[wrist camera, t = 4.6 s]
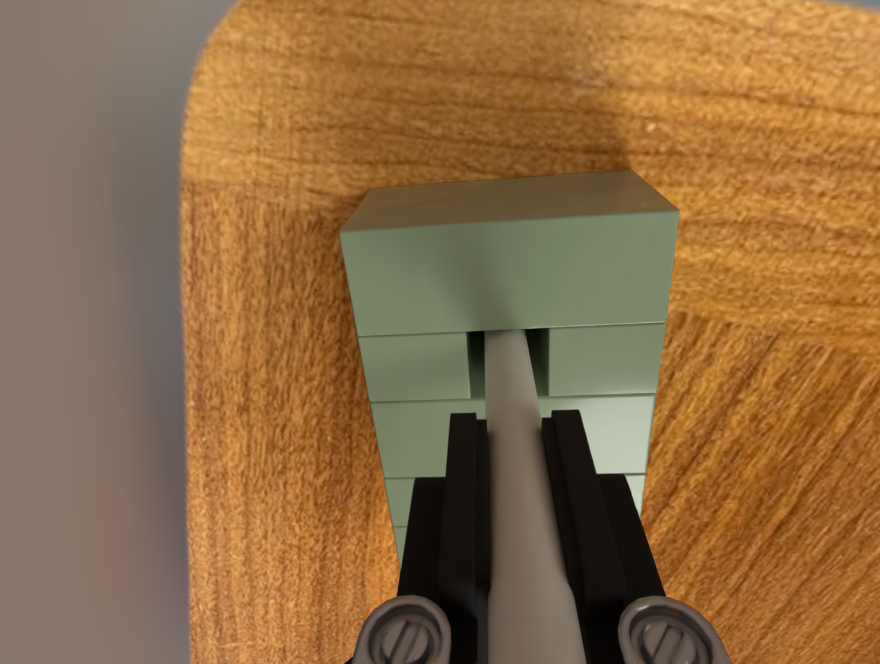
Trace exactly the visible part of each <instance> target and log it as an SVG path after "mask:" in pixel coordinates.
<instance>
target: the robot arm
mask: <svg viewBox="0 0 880 664" xmlns="http://www.w3.org/2000/svg"><path fill="white" fill-rule="evenodd" d="M541 430H542V436H543V442H544V447H545V453H546V459H547V464H548V470H549V476H550V481H551V487H552V492H553V498H554V504H555V509H556V515H557V521H558V526H559V532H560V538H561V543H562V549H563V555H564V560H565V566H566V571H567V577H568V583H569V586H570V588H571V590H572V592H573V595H574V599H575V604H576V609H577V615H578V620H579V626H580V631H581V636H582V642H583V647H584V653H585V658H586V664H732V662H731V660H730V658H729V656H728V654H727V652H726V650H725V648H724V645H723V643H722V641H721V639H720V637H719V636H718V634H717V633H716V631H715V629H714V628H713V626H712V625H711V623H710V622H709V621H708V620H707V619H706V618H704V617H703V616H702V615H701V614H700V613H699V612H698V611H697V610H695V609H693V608H692V607H690V606H689V605H687V604H685V603H684V602H681V601H678V600H675V599H672V598H669V597H666V595H665V592H664V589H663V586H662V583H661V580H660V577H659V574H658V571H657V568H656V565H655V562H654V559H653V556H652V553H651V550H650V547H649V544H648V541H647V538H646V535H645V532H644V529H643V526H642V523H641V520H640V517H639V514H638V511H637V508H636V505H635V502H634V499H633V496H632V493H631V490H630V487H629V484H628V482H627V479H626V477H625V476H624V474H597V473H596V469H595V466H594V462H593V458H592V454H591V451H590V447H589V443H588V440H587V436H586V432H585V428H584V425H583V421H582V417H581V414H580V411H579V410H578V409H573V410H552V411H551V417H542V422H541ZM489 591H490V551H489V492H488V433H487V419H477V415H476V412H475V413H451V414H450V424H449V436H448V449H447V462H446V475H445V477H416V478H415V480H414V485H413V491H412V498H411V504H410V511H409V518H408V525H407V531H406V538H405V545H404V552H403V558H402V565H401V572H400V579H399V585H398V592H397V597H395V598H392V599H390V600H387V601H385V602H384V603H382V604H381V605H379V606H378V607H377V608H375V609H374V610H373V611H372V613H371V614H370V615H369V616H368V617H367V619H366V620H365V622H364V624H363V626H362V629H361V631H360V633H359V636H358V640H357V644H356V648H355V651H354V655H353V657H352V658H351V659H349V660H348V661H347V662H346V663H345V664H488V603H487V600H488V594H489Z"/></svg>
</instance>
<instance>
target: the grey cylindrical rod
mask: <svg viewBox="0 0 880 664" xmlns="http://www.w3.org/2000/svg"><path fill="white" fill-rule="evenodd" d="M484 335H485V419H487V433H488V492H489V551H490V591H489V594H488V600H487V603H488V664H586V658H585V653H584V647H583V642H582V636H581V631H580V626H579V620H578V615H577V609H576V604H575V599H574V595H573V592H572V590H571V588H570V586H569V583H568V577H567V571H566V566H565V560H564V555H563V549H562V543H561V538H560V532H559V526H558V521H557V515H556V509H555V504H554V498H553V492H552V487H551V481H550V476H549V470H548V464H547V459H546V453H545V447H544V442H543V436H542V430H541V422H542V420H541V414H540V409H539V404H538V398H537V393H536V387H535V382H534V376H533V371H532V366H531V360H530V355H529V349H528V344H527V339H526V333H525V329H510V330H487V331H484Z"/></svg>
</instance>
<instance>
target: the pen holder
mask: <svg viewBox="0 0 880 664" xmlns="http://www.w3.org/2000/svg"><path fill="white" fill-rule="evenodd" d="M679 215H680V210H679V209H678V208H677V207H676V206H674V205H673V204H672V203H671V202H670V201H668V200H667V199H666V198H665V197H664V196H663V195H661V194H660V193H659V192H658V191H657V190H656V189H654V188H653V187H652V186H651V185H650V184H648V183H647V182H646V181H645V180H644V179H643V178H641V177H640V176H639V175H638V174H637V173H636V172H634V171H633V170H617V171H604V172H590V173H576V174H562V175H548V176H534V177H521V178H507V179H493V180H479V181H465V182H451V183H438V184H424V185H410V186H396V187H382V188H372V189H370V191H369V192H368V193H367V195H366V196H365V197H364V199H363V200H362V201H361V203H360V204H359V205H358V207H357V208H356V210H355V211H354V212H353V214H352V215H351V216H350V218H349V219H348V220H347V222H346V223H345V224H344V226H343V227H342V228H341V230H340V231H339V238H340V243H341V249H342V254H343V260H344V265H345V271H346V276H347V282H348V287H349V293H350V298H351V304H352V309H353V314H354V320H355V325H356V331H357V335H358V343H359V348H360V354H361V359H362V365H363V370H364V376H365V381H366V387H367V392H368V397H369V401H370V406H371V412H372V417H373V423H374V428H375V434H376V439H377V445H378V450H379V456H380V461H381V467H382V472H383V476H384V484H385V489H386V495H387V500H388V506H389V511H390V517H391V522H392V525H393V526H392V528H393V534H394V539H395V545H396V550H397V556H398V561H399V567H400V572H401V565H402V558H403V552H404V545H405V538H406V531H407V525H408V518H409V511H410V504H411V498H412V491H413V485H414V480H415V478H416V477H445V475H446V462H447V449H448V436H449V424H450V414H451V413H475V412H476V415H477V419H485V335H484V331H487V330H510V329H525V333H526V339H527V344H528V349H529V355H530V360H531V366H532V371H533V376H534V382H535V387H536V393H537V398H538V404H539V409H540V414H541V420H542V417H551V411H552V410H573V409H578V410H579V411H580V414H581V417H582V421H583V425H584V428H585V432H586V436H587V440H588V443H589V447H590V451H591V454H592V458H593V462H594V466H595V469H596V473H597V474H624V476H625V477H626V479H627V482H628V484H629V487H630V490H631V493H632V496H633V499H634V502H635V505H636V508H637V511H638V514H639V517H640V519H641V512H642V504H643V496H644V488H645V480H646V470H647V462H648V454H649V447H650V439H651V431H652V423H653V415H654V407H655V400H656V392H657V388H658V380H659V373H660V365H661V357H662V349H663V341H664V334H665V326H666V324H665V321H666V316H667V308H668V301H669V293H670V285H671V277H672V269H673V262H674V254H675V246H676V238H677V230H678V223H679Z"/></svg>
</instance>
